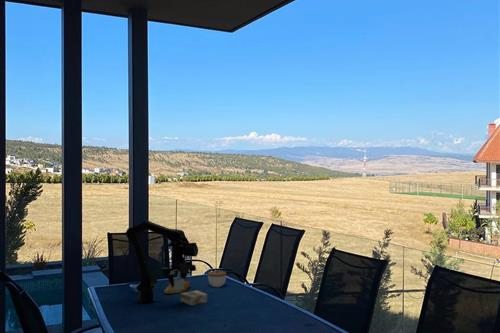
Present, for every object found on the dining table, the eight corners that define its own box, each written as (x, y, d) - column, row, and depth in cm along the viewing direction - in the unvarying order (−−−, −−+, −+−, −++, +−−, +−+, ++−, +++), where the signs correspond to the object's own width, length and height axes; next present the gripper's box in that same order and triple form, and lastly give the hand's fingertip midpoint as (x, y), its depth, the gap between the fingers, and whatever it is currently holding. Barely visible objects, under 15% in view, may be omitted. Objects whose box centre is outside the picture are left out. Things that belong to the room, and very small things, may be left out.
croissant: (168, 302, 252) (173, 290, 250) (156, 291, 256) (161, 279, 254) (193, 292, 270) (198, 281, 268) (181, 282, 275) (186, 271, 273)
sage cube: (175, 290, 231) (175, 280, 231) (170, 288, 235) (170, 278, 235) (184, 288, 234) (184, 278, 234) (179, 286, 238) (179, 277, 238)
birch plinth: (190, 305, 234) (190, 297, 234) (180, 300, 241) (180, 293, 241) (207, 302, 240) (207, 294, 240) (197, 297, 248) (197, 290, 248)
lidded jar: (207, 284, 278) (207, 268, 278) (224, 283, 280) (225, 267, 280) (208, 288, 267) (208, 272, 268) (227, 287, 269) (227, 271, 269)
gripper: (168, 259, 223) (168, 292, 222) (201, 255, 234) (201, 286, 234) (157, 256, 231) (157, 288, 231) (190, 252, 243) (190, 282, 243)
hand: (177, 286), depth 234 cm, fingers closed on sage cube, 5 cm apart
